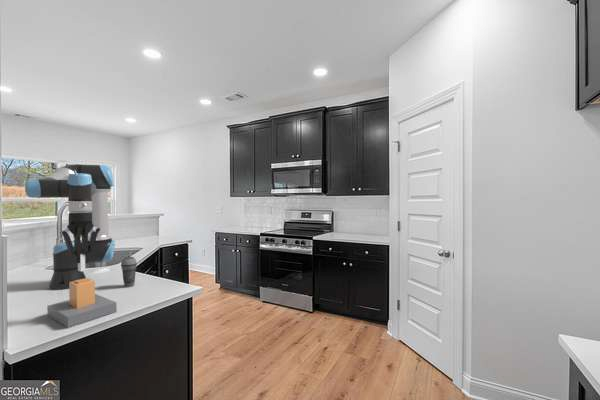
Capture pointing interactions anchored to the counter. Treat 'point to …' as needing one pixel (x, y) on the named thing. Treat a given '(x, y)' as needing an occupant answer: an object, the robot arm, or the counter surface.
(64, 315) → the socket
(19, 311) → the counter surface
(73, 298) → the plug
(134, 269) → the beverage cup
